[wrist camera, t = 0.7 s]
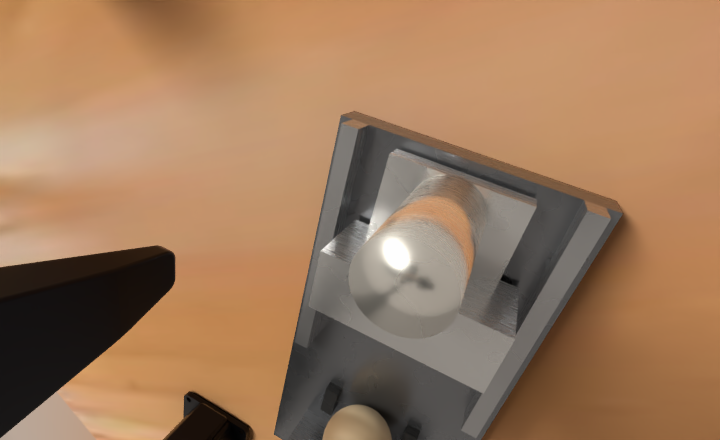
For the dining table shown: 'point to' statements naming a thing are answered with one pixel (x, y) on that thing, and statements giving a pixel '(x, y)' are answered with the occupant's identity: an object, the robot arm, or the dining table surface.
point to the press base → (394, 369)
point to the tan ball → (357, 425)
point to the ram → (430, 269)
